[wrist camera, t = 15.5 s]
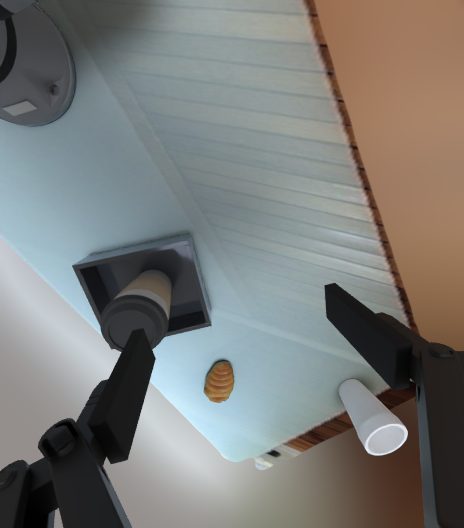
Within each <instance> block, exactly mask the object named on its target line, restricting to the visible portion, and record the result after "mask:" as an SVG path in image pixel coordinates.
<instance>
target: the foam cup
mask: <svg viewBox="0 0 464 528" xmlns="http://www.w3.org/2000/svg"><path fill="white" fill-rule="evenodd" d="M338 393H339V395H340V397H341V399H342V402H343V404H344V406H345V408H346V410H347V412H348V414H349V416H350V418H351V421H352V423H353V425H354V427H355V429H356V431H357V433H358V437H359V439H360V440H361V442H362V443H363V445H364V447H365V448H366V450H367V452H368V453H370V454H373V455H385V454H388V453H391V452H393V451H395V450H396V449H397V448H399V447H400V446H401V445H402V444H403V443H404V442H405V440H406V438H407V434H408V432H407V430H406V428H405V426H404V425H403V424H402V422H401V421H400V420H399V419H398V418H397V416H395V415H393V414H392V413H391V412H390V411H389V410H388V409H387V408H386V407H385V406H384V405H383V404H382V403H381V402H380V401H379V400H378V399H377V398H376V397H375V396H374V395H373V394H372V393H371V392H370V391H369V390H368V389H367V388H366V387H365V386H364V385H363V384H362V383H361V382H360V381H358V380H356V379H349V380H346V381H344V382H343V383H342V384H341V385H340V387H339V388H338Z"/></svg>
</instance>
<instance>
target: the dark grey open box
mask: <svg viewBox="0 0 464 528" xmlns="http://www.w3.org/2000/svg"><path fill="white" fill-rule="evenodd" d="M72 267H73V269H74V271H75V273H76V275H77V278H78V280H79V282H80V284H81V286H82V288H83V290H84V292H85V295H86V297H87V299H88V301H89V303H90V305H91V307H92V309H93V312H94V314H95V316H96V318H97V320H98V322H99V324H100V327H101V315H102V312H103V310H104V308H105V307H106V306H107V304H108V303H110V302H111V301H112V300H114V298H115V297H116V296H117V295H118V294H119V293H120V292H121V291H122V290H124V289H125V288H126V287H127V286H128V285H129V284H130V283H131V282H132V281H133V280H135V279H136V278H137V277H138V276H139V275H140V274H141V273H143V272H145V271H147V270H158V271H161V272H163V273H165V274H166V275H167V276H168V277H169V279H170V281H171V285H172V289H171V302H170V313H169V320H168V330H167V333H166V335H165V337H166V336H170V335H175V334H179V333H183V332H187V331H192V330H196V329H200V328H204V327H208V326H211V309H210V305H209V301H208V297H207V293H206V290H205V286H204V282H203V278H202V275H201V271H200V267H199V263H198V260H197V256H196V252H195V248H194V244H193V241H192V237H191V233H187V234H182V235H178V236H173V237H169V238H164V239H159V240H155V241H150V242H146V243H141V244H137V245H132V246H128V247H123V248H119V249H114V250H109V251H105V252H100V253H96V254H91V255H89V256H87V257H85V258H84V259H82V260H81V261H79V262H77V263H76V264H74V265H72ZM109 346H110V345H109ZM110 348H111V349H114V348H113V347H111V346H110Z"/></svg>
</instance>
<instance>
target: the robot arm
mask: <svg viewBox="0 0 464 528" xmlns="http://www.w3.org/2000/svg"><path fill="white" fill-rule="evenodd" d="M35 1H37V0H0V118H1V119H3V120H6V121H9V122H12V123H15V124H19V125H24V126H41V125H45V124H48V123H51V122H53V121H55V120H57V119H58V118H59V117H61V116H62V115H63V114H64V113H65V111H66V110H67V109H68V107H69V105H70V103H71V101H72V99H73V96H74V92H75V84H76V75H75V67H74V62H73V58H72V55H71V52H70V50H69V47H68V45H67V43H66V41H65V39H64V37H63V36H62V34H61V32H60V31H59V29H58V28H57V27H56V25H55V24H54V23H53V22H52V21H51V19H50V18H49V17H48V16H47V15H46V14H45V13H44V12H43V11H42V10H41V9H40V8H39V7H38V6H37V5H36V4H35V3H34V2H35ZM325 300H326V315H327V319H328V320H329V321H330V322H331V323H332V324H333V325H334V326H335V327H336V328H337V329H338V331H339V332H340V333H341V334H342V335H343V336H344V337H345V338H346V339H347V340H348V341H349V343H350V344H351V345H352V346H353V347H354V348H355V349H356V350H357V351H358V352H359V353H360V355H361V356H362V357H363V358H364V359H365V360H366V361H367V362H368V363H369V364H370V365H371V366H372V368H373V369H374V370H375V371H376V372H377V373H378V374H379V375H380V376H381V377H382V378H383V380H384V381H385V382H386V383H387V384H388V385H389V386H390V387H391V388H392V389H393V390H394V391H397V390H401V389H405V388H409V382H410V378H411V379H412V380H413V381H414V382H415V383H416V384H417V388H416V398H415V401H417V406H418V423H419V441H420V457H421V473H422V487H423V506H424V521H425V528H464V351H455V350H453V349H452V348H450V347H448V346H446V345H443V344H440V343H432V342H431V343H429V342H428V341H426V340H425V339H424V338H422V337H421V336H419V335H418V334H417V333H415V332H414V331H412V330H411V329H409V328H408V327H406V326H405V325H404V324H402V323H400V322H399V321H398V320H397V319H395V318H394V317H392V316H390V315H388V314H385V313H382V312H381V313H377V314H375V313H374V312H373V311H371V310H370V309H369V308H367V307H366V306H365V305H363V304H362V303H361V302H359V301H358V300H357V299H355V298H354V297H353V296H351V295H350V294H349V293H347V292H346V291H345V290H343V289H342V288H341V287H339V286H338V285H337V284H336V283H332V284H328V285H325ZM155 359H156V358H155V356H154V353H153V351H152V348H151V346H150V343H149V341H148V338H147V336H146V333H145V331H144V328H141V329H136V330H132V332H131V334H130V336H129V339H128V341H127V343H126V345H125V347H124V349H123V351H122V353H121V355H120V357H119V359H118V361H117V363H116V365H115V367H114V369H113V371H112V373H111V375H110V377H109V379H107V380H103V381H101V382H100V383H99V384H98V385H97V387H96V388H95V389H94V390H93V392H92V394H91V396H90V397H89V400H88V401H87V403H86V405H85V407H84V409H83V410H82V412H81V414H80V416H79V418H78V420H77V422H75V421H74V420H73V419H71V418H69V419H68V418H67V419H64V420H61V421H59V422H58V423H56V424H54V425H53V426H52V427H51V428H49V429H48V430H47V431H46V432H45V434H44V435H43V436H42V437H41V439H40V441H39V444H38V448H39V450H40V451H41V453H42V454H43V455H44V458H42V459H40V460H38V461H36V462H34V463H33V464H31V465H28V464H27V463H26V462H25V461H24V460H18V461H15V462H13V463H11V464H9V465H8V466H6V467H5V468H3V469H2V470H1V471H0V528H54V517H55V510H56V509H57V508H59V511H60V515H61V519H62V523H63V527H64V528H132V526H131V524H130V522H129V520H128V518H127V516H126V514H125V512H124V509H123V507H122V505H121V503H120V501H119V499H118V497H117V494H116V492H115V490H114V488H113V486H112V484H111V482H110V479H109V478H108V475H107V473H106V471H105V469H104V467H103V464H104V461H105V459H106V457H107V458H108V460H109V462H110V463H111V464H114V463H118V462H122V461H125V460H128V456H129V453H130V449H131V446H132V442H133V438H134V435H135V431H136V428H137V424H138V420H139V417H140V413H141V410H142V406H143V402H144V399H145V395H146V391H147V388H148V384H149V381H150V377H151V374H152V370H153V366H154V363H155Z"/></svg>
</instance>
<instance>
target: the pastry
mask: <svg viewBox="0 0 464 528" xmlns="http://www.w3.org/2000/svg"><path fill="white" fill-rule="evenodd" d="M233 385H234V376H233V370H232V367H231V365H230V363H229V362H224V361H222V362H218V363H216V364H215V365H214V367H213V368H212V370H211V371H210V372H209V373H208V376H207V378H206V383H205V388H204V393H205V394H206V396H207V397H208V398H209V400H210V401H212V402H217V403H220V402H222V401H226V400H227V399H228V398H229V396H230V393H231V392H232V390H233Z"/></svg>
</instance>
